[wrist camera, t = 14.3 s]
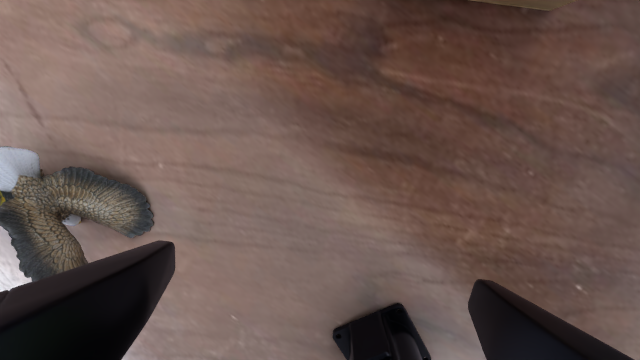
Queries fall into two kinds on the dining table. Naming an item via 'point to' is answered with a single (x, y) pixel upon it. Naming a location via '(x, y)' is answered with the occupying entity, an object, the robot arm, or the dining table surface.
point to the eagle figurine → (60, 211)
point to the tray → (531, 3)
